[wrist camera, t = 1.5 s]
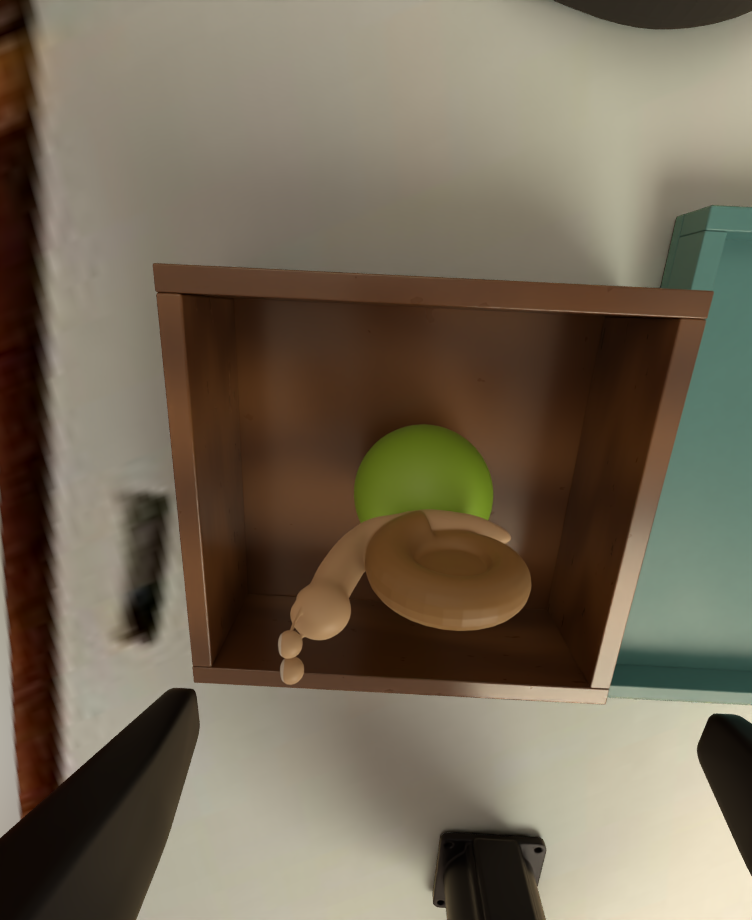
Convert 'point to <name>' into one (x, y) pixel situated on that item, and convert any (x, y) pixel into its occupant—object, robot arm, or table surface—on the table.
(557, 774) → the table surface
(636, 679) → the tray
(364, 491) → the snail figurine
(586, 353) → the wooden box
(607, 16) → the computer mouse
